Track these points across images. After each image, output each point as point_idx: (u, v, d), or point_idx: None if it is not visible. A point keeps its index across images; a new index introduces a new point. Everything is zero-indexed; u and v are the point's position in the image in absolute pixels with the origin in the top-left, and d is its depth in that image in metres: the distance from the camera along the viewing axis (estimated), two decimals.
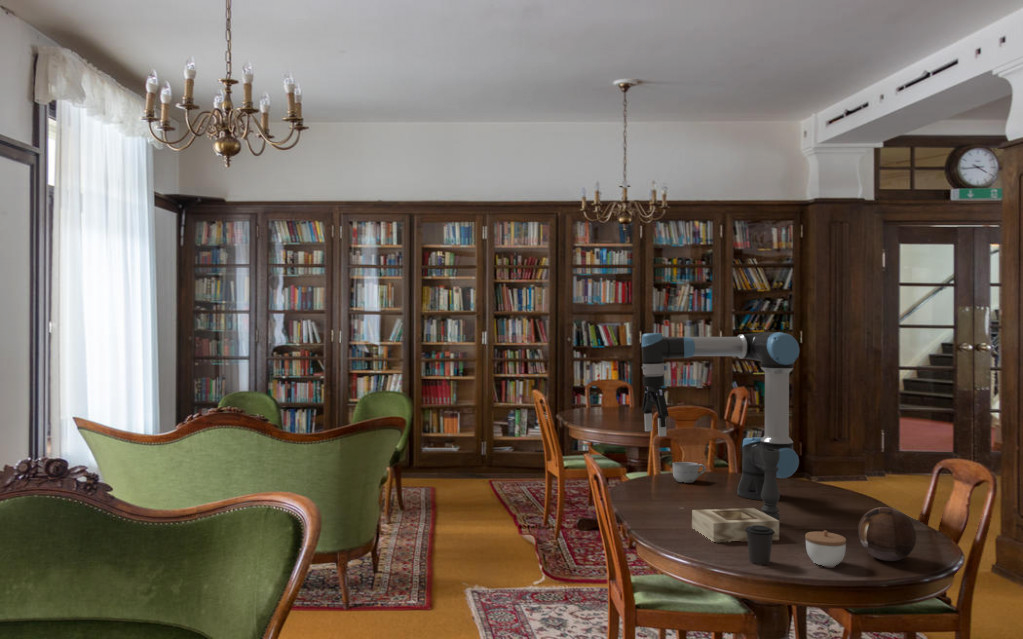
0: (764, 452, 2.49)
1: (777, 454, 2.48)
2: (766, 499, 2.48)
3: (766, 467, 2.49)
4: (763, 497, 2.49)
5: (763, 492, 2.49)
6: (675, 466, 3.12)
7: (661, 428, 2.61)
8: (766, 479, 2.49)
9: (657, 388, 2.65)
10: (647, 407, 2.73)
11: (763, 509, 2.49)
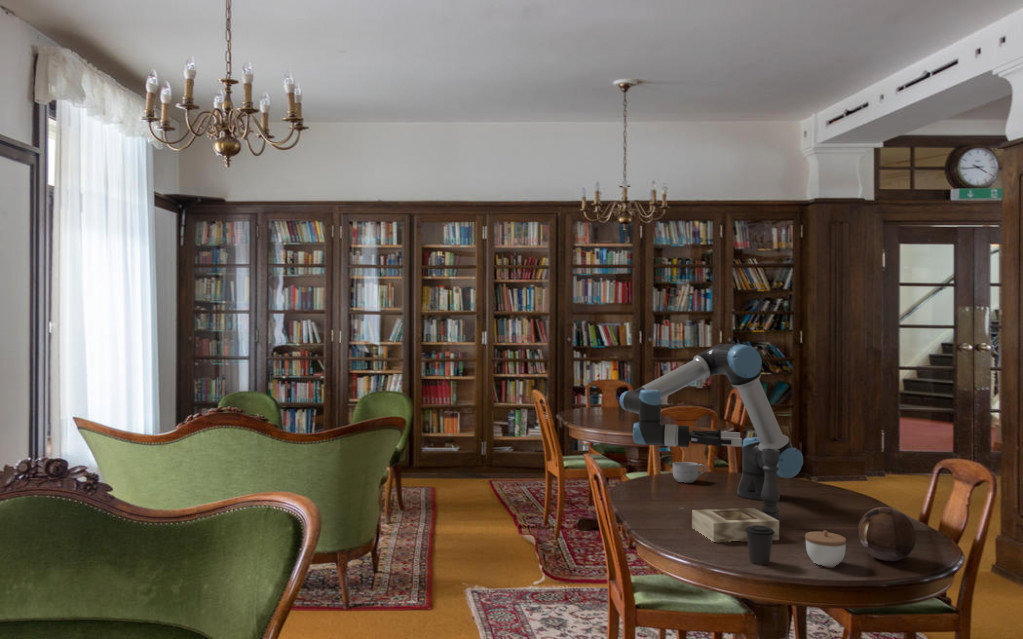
0: (764, 452, 2.49)
1: (777, 454, 2.48)
2: (766, 499, 2.48)
3: (766, 467, 2.49)
4: (763, 497, 2.49)
5: (763, 492, 2.49)
6: (675, 466, 3.12)
7: (733, 443, 2.46)
8: (766, 479, 2.49)
9: (690, 438, 2.53)
10: (713, 437, 2.60)
11: (763, 509, 2.49)
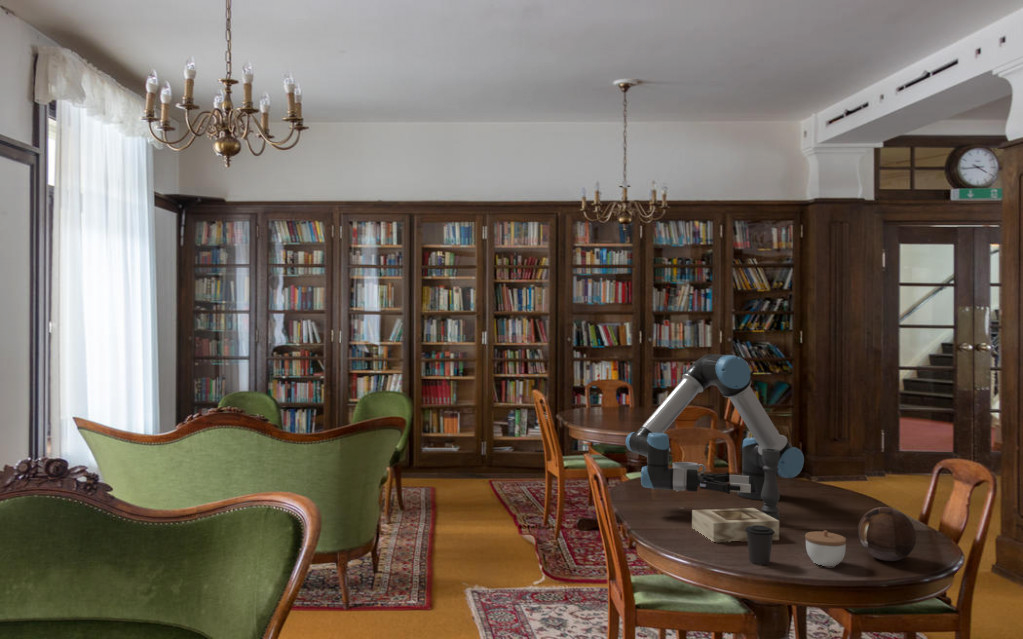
0: (764, 452, 2.49)
1: (777, 454, 2.48)
2: (766, 499, 2.48)
3: (766, 467, 2.49)
4: (763, 497, 2.49)
5: (763, 492, 2.49)
6: (675, 466, 3.12)
7: (741, 489, 2.45)
8: (766, 479, 2.49)
9: (699, 483, 2.52)
10: (722, 481, 2.59)
11: (763, 509, 2.49)
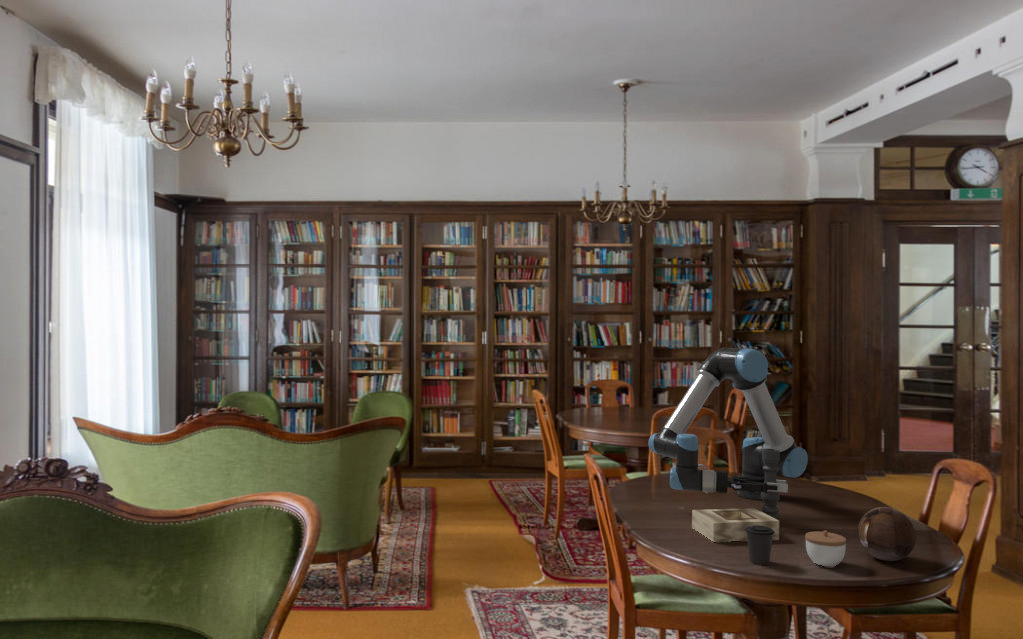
0: (764, 452, 2.49)
1: (777, 454, 2.48)
2: (766, 499, 2.48)
3: (766, 467, 2.49)
4: (763, 497, 2.49)
5: (763, 492, 2.49)
6: (675, 466, 3.12)
7: (779, 489, 2.46)
8: (766, 479, 2.49)
9: (729, 484, 2.50)
10: None
11: (763, 509, 2.49)
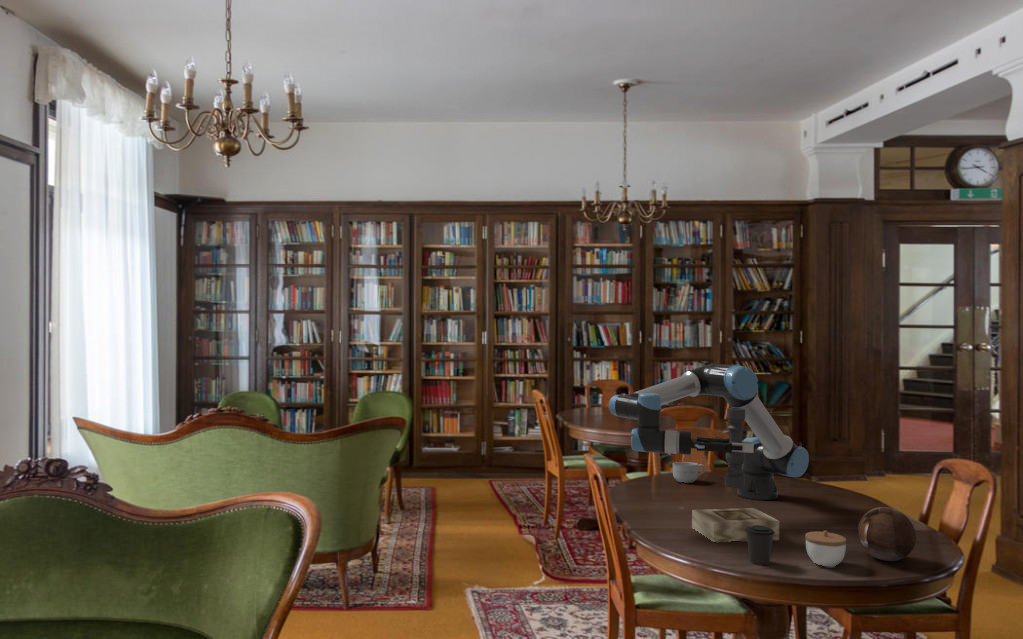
0: (729, 411, 2.36)
1: (742, 413, 2.35)
2: (731, 460, 2.35)
3: (731, 426, 2.36)
4: (728, 458, 2.36)
5: (728, 453, 2.36)
6: (675, 466, 3.12)
7: (744, 449, 2.33)
8: (731, 439, 2.36)
9: (692, 445, 2.37)
10: None
11: (728, 471, 2.36)
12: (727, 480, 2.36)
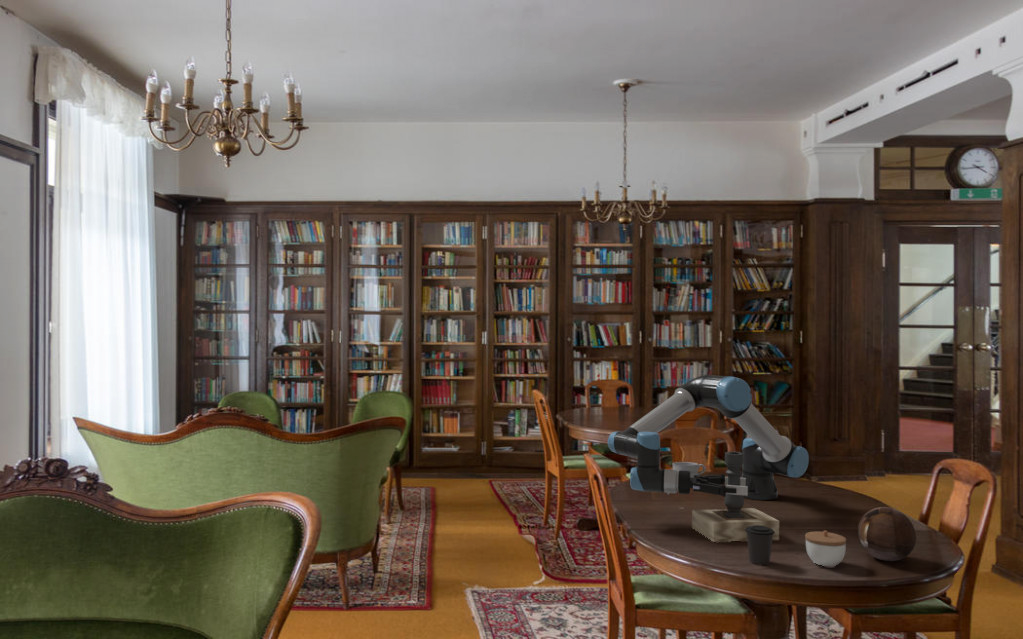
0: (727, 455, 2.36)
1: (740, 457, 2.34)
2: (730, 505, 2.35)
3: (729, 471, 2.36)
4: (726, 503, 2.36)
5: (726, 498, 2.36)
6: (675, 466, 3.12)
7: (738, 491, 2.30)
8: (729, 484, 2.36)
9: (691, 485, 2.37)
10: (716, 483, 2.43)
11: (727, 515, 2.36)
12: None
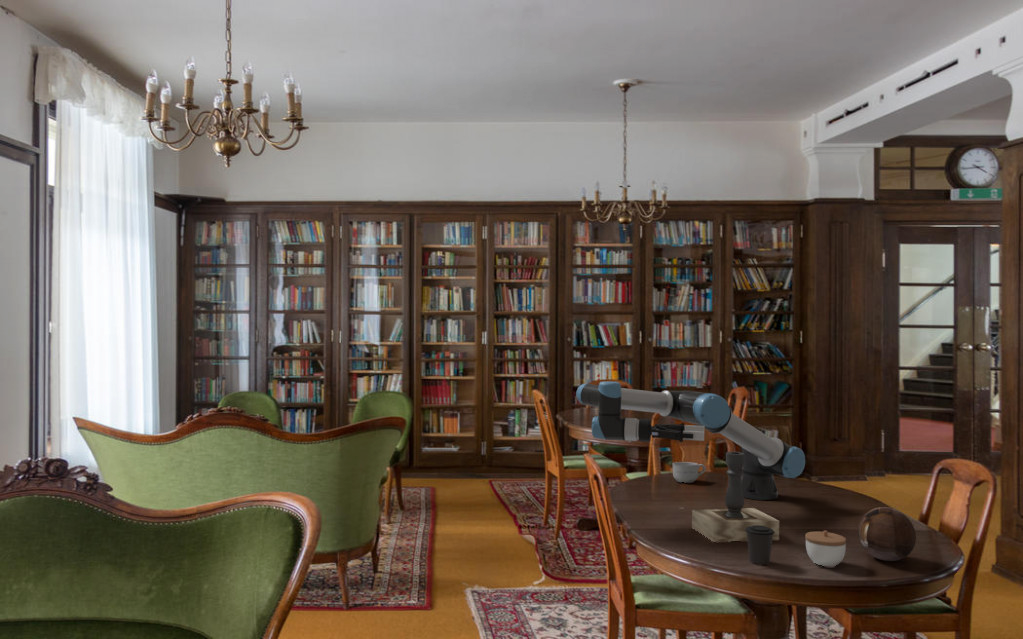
0: (728, 455, 2.36)
1: (741, 457, 2.35)
2: (730, 505, 2.35)
3: (730, 471, 2.36)
4: (727, 503, 2.36)
5: (727, 498, 2.36)
6: (675, 466, 3.12)
7: (695, 437, 2.33)
8: (730, 484, 2.36)
9: (651, 432, 2.40)
10: (676, 431, 2.47)
11: (727, 515, 2.36)
12: None
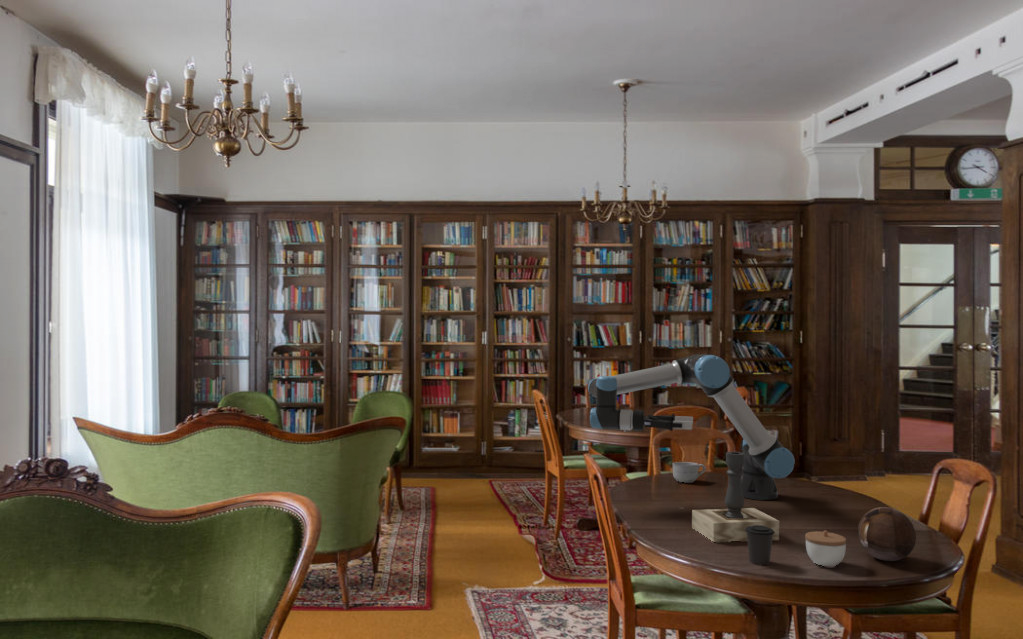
0: (728, 455, 2.36)
1: (741, 457, 2.35)
2: (730, 505, 2.35)
3: (730, 471, 2.36)
4: (727, 503, 2.36)
5: (727, 498, 2.36)
6: (675, 466, 3.12)
7: (683, 426, 2.57)
8: (730, 484, 2.36)
9: (644, 422, 2.63)
10: (667, 421, 2.70)
11: (727, 515, 2.36)
12: None
